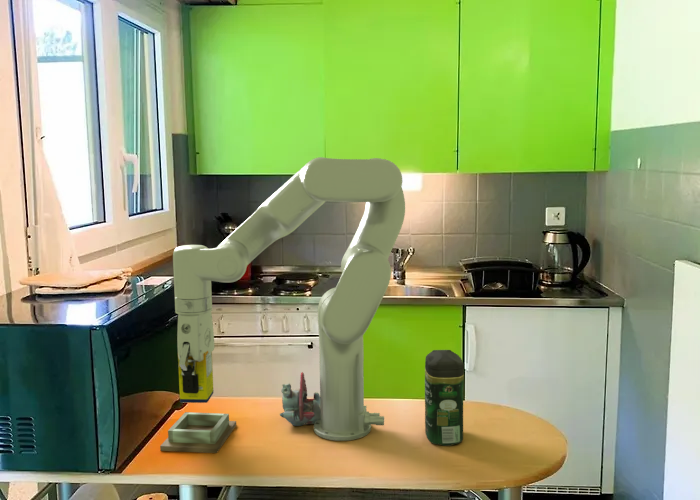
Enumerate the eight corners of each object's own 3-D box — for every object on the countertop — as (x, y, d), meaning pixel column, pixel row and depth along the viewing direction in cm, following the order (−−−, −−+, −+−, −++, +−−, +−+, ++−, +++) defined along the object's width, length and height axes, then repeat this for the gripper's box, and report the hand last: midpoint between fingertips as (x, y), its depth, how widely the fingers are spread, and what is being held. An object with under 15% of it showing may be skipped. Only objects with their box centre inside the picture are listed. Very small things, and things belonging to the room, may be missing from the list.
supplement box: (186, 392, 149) (184, 344, 147) (214, 393, 149) (212, 344, 147) (179, 403, 143) (176, 352, 141) (207, 403, 143) (205, 352, 141)
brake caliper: (332, 417, 150) (296, 376, 148) (294, 447, 151) (258, 407, 150) (334, 399, 161) (301, 361, 160) (299, 427, 162) (266, 389, 161)
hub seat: (236, 425, 153) (235, 410, 153) (216, 453, 140) (216, 436, 139) (184, 423, 155) (184, 408, 154) (160, 450, 141) (159, 434, 140)
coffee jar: (422, 428, 150) (422, 346, 148) (458, 427, 150) (459, 346, 148) (427, 447, 141) (428, 360, 138) (466, 447, 141) (467, 360, 138)
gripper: (196, 315, 134) (200, 402, 136) (223, 295, 151) (226, 374, 153) (159, 313, 135) (163, 401, 137) (190, 295, 152) (193, 372, 154)
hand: (196, 386), depth 145 cm, fingers closed on supplement box, 6 cm apart
